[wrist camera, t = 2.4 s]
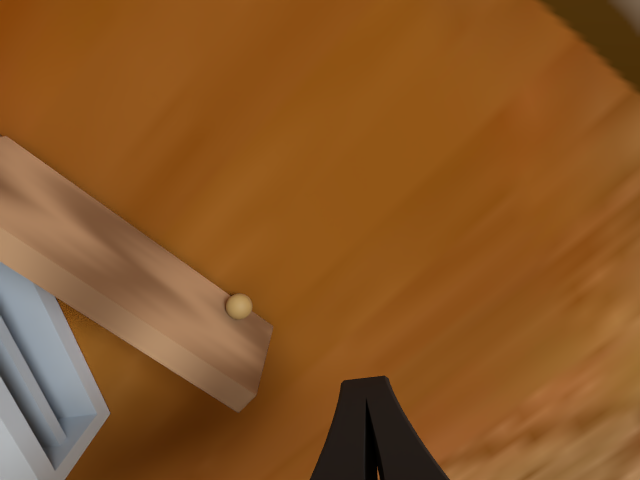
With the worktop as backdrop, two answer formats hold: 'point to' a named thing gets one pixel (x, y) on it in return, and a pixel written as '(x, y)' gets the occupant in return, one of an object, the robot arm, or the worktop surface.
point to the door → (127, 281)
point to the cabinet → (42, 386)
